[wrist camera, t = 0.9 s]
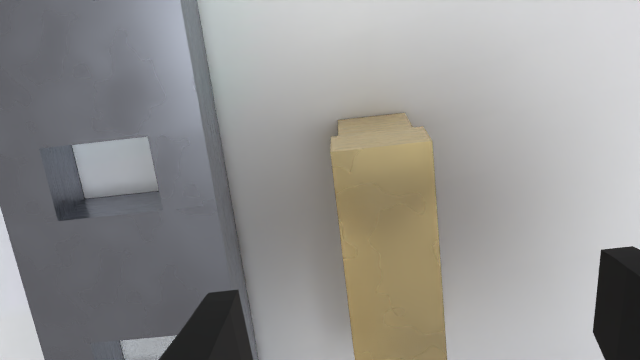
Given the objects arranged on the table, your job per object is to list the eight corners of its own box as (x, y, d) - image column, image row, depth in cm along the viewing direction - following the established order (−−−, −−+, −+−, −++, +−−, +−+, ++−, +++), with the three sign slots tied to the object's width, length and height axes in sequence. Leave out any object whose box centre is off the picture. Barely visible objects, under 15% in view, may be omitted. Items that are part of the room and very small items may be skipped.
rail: (278, 475, 29) (272, 519, 27) (114, 488, 29) (94, 531, 27) (185, -64, 22) (167, -71, 20) (-28, -36, 22) (-71, -39, 20)
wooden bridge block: (426, 331, 26) (451, 425, 21) (357, 337, 27) (363, 432, 21) (409, 104, 24) (432, 141, 18) (332, 113, 24) (330, 152, 18)
